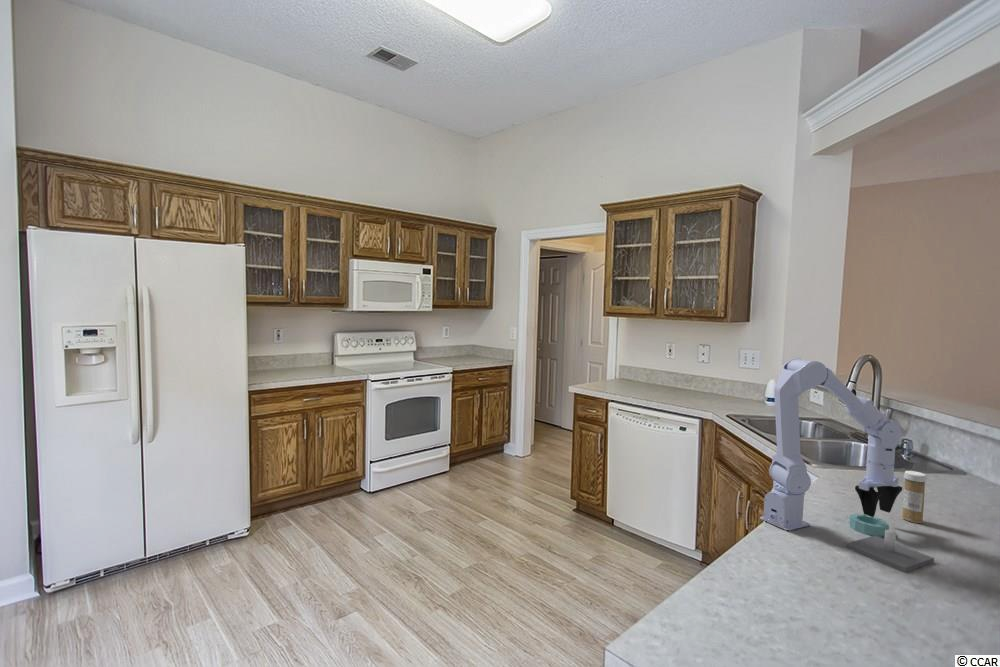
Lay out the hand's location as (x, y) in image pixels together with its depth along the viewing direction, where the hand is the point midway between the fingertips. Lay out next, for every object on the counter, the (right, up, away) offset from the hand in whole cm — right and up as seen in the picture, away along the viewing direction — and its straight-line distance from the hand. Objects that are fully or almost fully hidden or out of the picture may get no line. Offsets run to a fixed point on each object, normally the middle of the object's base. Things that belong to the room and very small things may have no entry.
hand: (877, 513), depth 128 cm
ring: (-3, -4, -1) cm, 5 cm away
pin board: (-9, -4, -15) cm, 18 cm away
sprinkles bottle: (+14, -4, +6) cm, 16 cm away
